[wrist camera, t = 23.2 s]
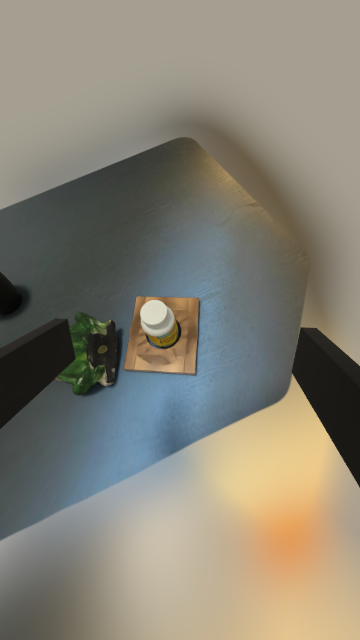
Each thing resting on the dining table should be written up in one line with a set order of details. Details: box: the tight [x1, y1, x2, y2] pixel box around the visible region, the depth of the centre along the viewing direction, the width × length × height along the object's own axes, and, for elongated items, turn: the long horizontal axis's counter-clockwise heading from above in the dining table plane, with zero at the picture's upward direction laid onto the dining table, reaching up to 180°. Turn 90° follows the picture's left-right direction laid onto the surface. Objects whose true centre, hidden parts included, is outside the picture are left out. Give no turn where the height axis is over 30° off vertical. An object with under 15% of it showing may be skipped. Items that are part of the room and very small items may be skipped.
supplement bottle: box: [140, 300, 179, 348], centre depth 36 cm, size 5×5×10 cm
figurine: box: [55, 313, 119, 395], centre depth 36 cm, size 14×9×15 cm
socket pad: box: [124, 297, 199, 375], centre depth 39 cm, size 12×14×2 cm
